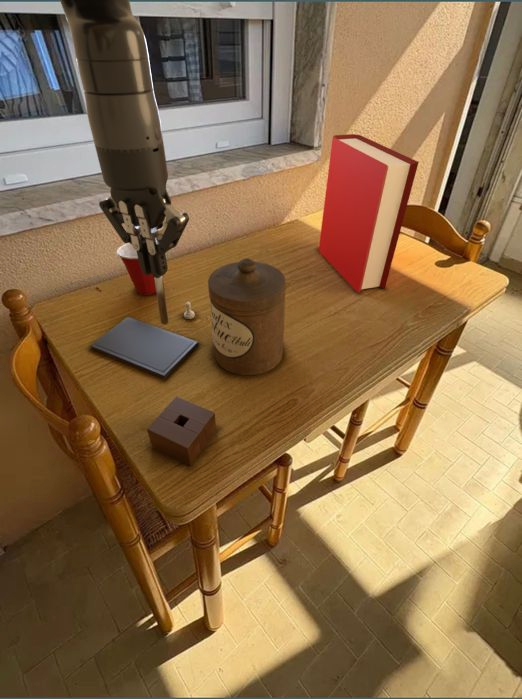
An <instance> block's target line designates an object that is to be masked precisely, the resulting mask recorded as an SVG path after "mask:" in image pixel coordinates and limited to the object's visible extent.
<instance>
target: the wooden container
mask: <svg viewBox="0 0 522 699" xmlns="http://www.w3.org/2000/svg"><path fill="white" fill-rule="evenodd" d="M286 284H287V283H286V276H285V275H284V273H283V272H282V271H281V270H280V269H278V268H277V267H275V266H273V265H270V264H268V263H263V262H260V261H254V259H251V258H249V257H248V258H243V259H241V260H240V261H236V262H231V263H227V264H224V265H222V266H219V267H217V268H216V269H214V270H213V271H212V272H211V273H210V275H209V276H208V279H207V287H208V296H209V305H210V316H211V320H210V321H211V334H212V342H213V352H214V358H215V360H216V362H217V363H218V365H219V366H221V368H222V369H225V370H226V371H228V372H229V373H233V374H235V375H241V376H256V375H261V374H264V373H266V372H269V371H271V370H272V369H274V368H275V367H276V366H278V364H279V363H281V362H280V361H281V360H282V358H283V352H284V351H283V350H284V335H285V308H286V305H285V304H286V290H287V289H286Z"/></svg>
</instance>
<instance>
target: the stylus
mask: <svg viewBox="0 0 522 699" xmlns="http://www.w3.org/2000/svg"><path fill="white" fill-rule="evenodd" d="M155 241H156V242H157V239H156V238H155ZM163 276H164V275H163ZM163 276H161V277H160V278H155V277H154V280H155V286H156V292H155V293H156V299H157V307H158V314H159V319H160V323H161V325H164V326H165V325H168V323H169V315H168V306H167V298H166V291H165V285H164V277H163Z"/></svg>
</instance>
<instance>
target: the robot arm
mask: <svg viewBox="0 0 522 699" xmlns="http://www.w3.org/2000/svg"><path fill="white" fill-rule="evenodd" d="M59 2H60V5H61V8H62V11H63V13H64V16H65V18H66V21H67V25H68V27H69V31H70V35H71V41H72V46H73V52H74V55H75V56H74V57H75V58H76V59H75V60H76V65H77V68H78V73H79V76H80V80H81V81H80V82H81V86H82V89H83V91H84V92H83V94H84V97H85V105H86V107H85V108H86V114H87V118H88V124H89V128H90V131H91V135H92V139H93V143H94V147H95V148H94V149H95V151H96V155H97V160H98V164H99V168H100V171H101V176H102V179H103V182H104V184H105V185H106V186H107V187H109V188H110V190H109V193H110V196H109V197H107V198H105V199H103V200H101V201H99V203H98V205H99V209H100V210H101V211H102V213H103V214H104V216H105V217H106V219H107V221H108V222H109V223H110V224H111V226H112V228H113V229H114V230H115V232H116V233H117V235H118V237H120V240H121V241H122V243H124V244H127V243H130V244H132V246H133V248H134V249H135V250H136V251H137V255H138V259H139V264H140V267H141V269H142V272H143V274H145V275H150V274H151V273H152V276H153V277H155V278H160V277H161V276H164V275H165V274H166V273H167V272H168V262H167V255H166V253H168V251H170V250H172V249H174V248H175V247H177V245H178V243H179V241H180V239H181V237H182V235H183V233H184V231H185V229H186V227H187V225H188V223H189V221H190V216H189V214H188V213H187V212H185V211H183V212H179V211H178V210H177V209H176V208H174V207H173V205H172V199H171V197H170V195H169V192H168V190H167V183H168V178H169V172H168V165H167V159H166V158H167V157H166V151H165V145H164V136H163V131H162V123H161V116H160V111H159V107H158V104H157V100H156V95H155V90H154V84H153V78H152V77H153V76H152V71H151V64H150V55H149V50H148V44H147V39H146V36H145V33H144V30H143V27H142V26H141V25H140V23H139V21H137V19H136V17H135V16H134V14H133V11H132V6H131V3H130V2H131V1H130V0H59ZM123 224H124V226H125V227H124V226H123ZM155 239H156V240H157V242H156V241H155Z"/></svg>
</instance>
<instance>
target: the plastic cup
mask: <svg viewBox="0 0 522 699" xmlns="http://www.w3.org/2000/svg"><path fill="white" fill-rule="evenodd" d="M116 254H117V256H119V258H120V259H121V261H122V263H123V264H124V266H125V269H126V270H127V273H128V275H129V277H130V280H131V282H132V283H133V286H134V288H135V290H136V292H137V293H138V294H139V295H142V296H143V295H145V296H148V295H153V294H155V293H156V286H155V280H154V277H153V276H152V273H151V274H150V275H145V274H143V272H142V269H141V267H140V264H139V259H138V255H137V251H136V250H135V249H134V248H133V246H132V244H130V243H124V244H123V245H121V246H119V247H118V248H117V249H116Z"/></svg>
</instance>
